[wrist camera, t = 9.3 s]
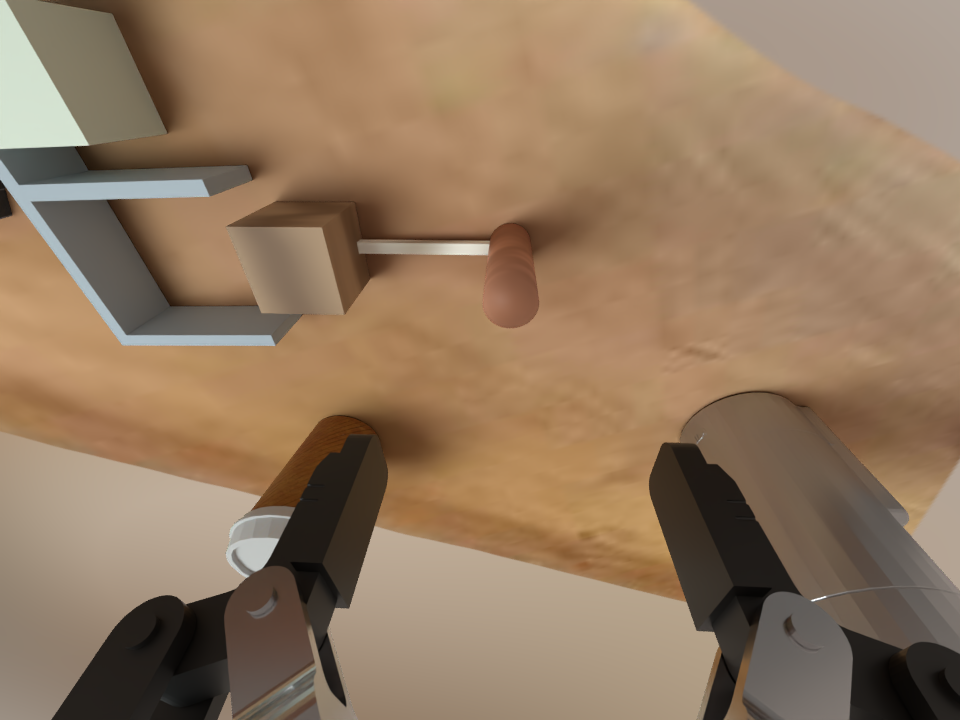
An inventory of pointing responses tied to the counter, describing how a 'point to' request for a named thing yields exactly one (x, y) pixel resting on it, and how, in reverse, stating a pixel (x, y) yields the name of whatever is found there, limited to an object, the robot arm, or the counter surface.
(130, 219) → the counter surface
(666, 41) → the counter surface
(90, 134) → the block
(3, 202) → the disk drive
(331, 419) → the disposable coffee cup
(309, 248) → the block with brown handle
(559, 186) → the counter surface
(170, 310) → the lane rack
